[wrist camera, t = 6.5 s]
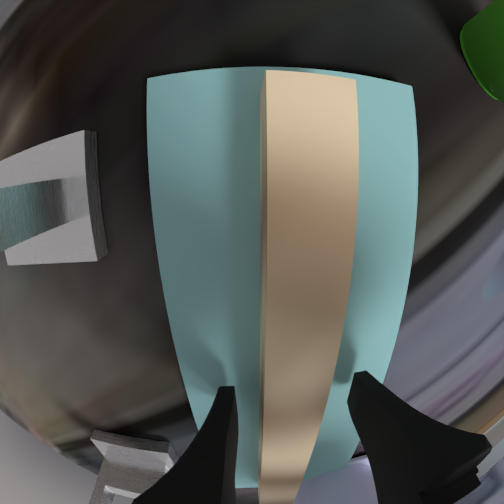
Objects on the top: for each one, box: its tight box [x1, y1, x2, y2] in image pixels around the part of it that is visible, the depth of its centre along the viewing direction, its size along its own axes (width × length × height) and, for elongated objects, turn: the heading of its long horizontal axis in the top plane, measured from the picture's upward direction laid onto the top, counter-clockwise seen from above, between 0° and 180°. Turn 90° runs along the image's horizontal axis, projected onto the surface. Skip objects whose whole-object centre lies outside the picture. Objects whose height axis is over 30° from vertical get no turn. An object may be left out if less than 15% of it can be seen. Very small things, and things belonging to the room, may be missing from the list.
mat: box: [147, 67, 418, 488], centre depth 12 cm, size 26×10×1 cm, turn 2°
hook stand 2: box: [89, 429, 179, 504], centre depth 12 cm, size 5×6×6 cm
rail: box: [258, 70, 359, 504], centre depth 10 cm, size 24×2×2 cm, turn 1°
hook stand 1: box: [0, 130, 108, 265], centre depth 6 cm, size 5×6×6 cm
